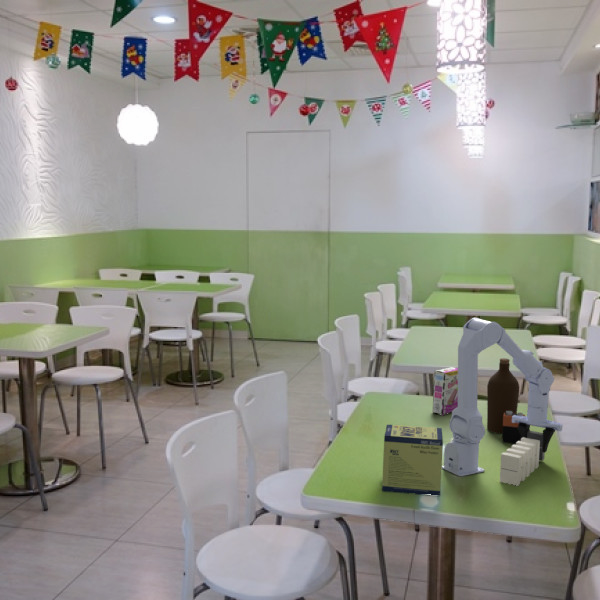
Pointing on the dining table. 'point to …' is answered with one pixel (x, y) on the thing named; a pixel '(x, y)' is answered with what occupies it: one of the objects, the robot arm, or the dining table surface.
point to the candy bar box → (445, 390)
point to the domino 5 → (537, 437)
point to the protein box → (412, 459)
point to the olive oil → (501, 396)
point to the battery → (510, 428)
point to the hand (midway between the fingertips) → (535, 449)
